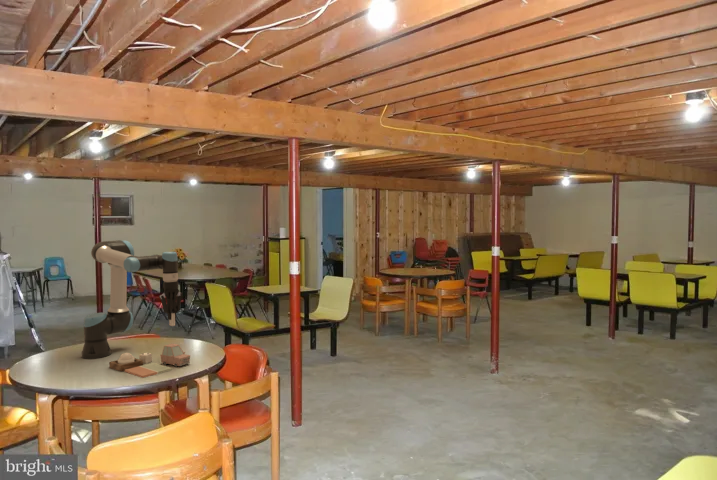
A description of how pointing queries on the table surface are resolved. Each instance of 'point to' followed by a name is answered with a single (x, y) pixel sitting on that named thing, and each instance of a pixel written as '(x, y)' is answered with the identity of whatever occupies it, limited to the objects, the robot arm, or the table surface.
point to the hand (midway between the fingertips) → (172, 325)
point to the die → (146, 357)
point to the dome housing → (125, 365)
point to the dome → (125, 358)
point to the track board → (148, 370)
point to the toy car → (174, 355)
